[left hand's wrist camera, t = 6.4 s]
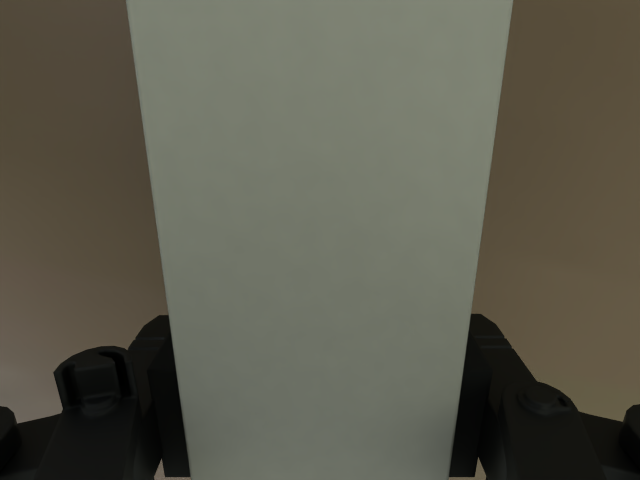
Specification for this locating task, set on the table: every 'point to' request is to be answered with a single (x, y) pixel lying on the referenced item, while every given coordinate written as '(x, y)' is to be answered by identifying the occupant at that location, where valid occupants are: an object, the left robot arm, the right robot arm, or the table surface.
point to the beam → (319, 223)
